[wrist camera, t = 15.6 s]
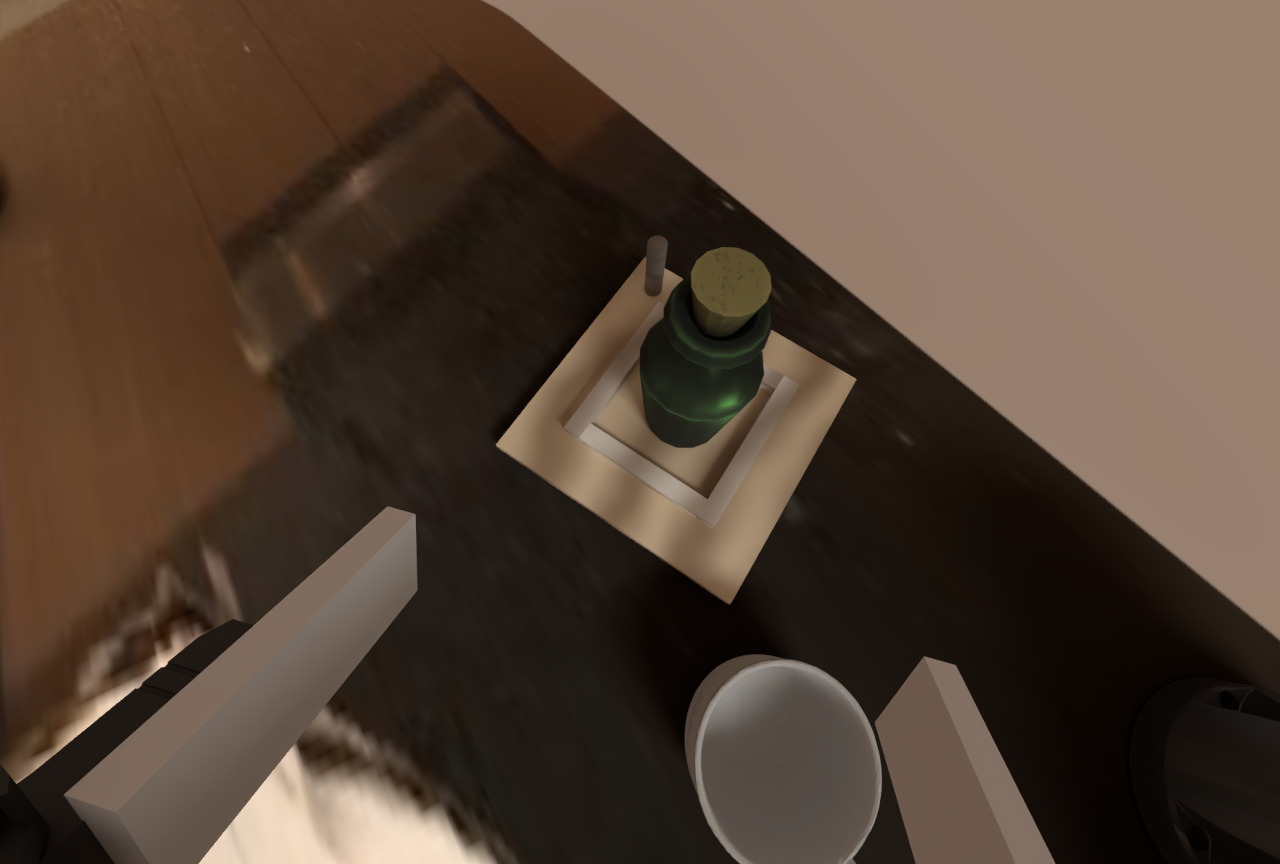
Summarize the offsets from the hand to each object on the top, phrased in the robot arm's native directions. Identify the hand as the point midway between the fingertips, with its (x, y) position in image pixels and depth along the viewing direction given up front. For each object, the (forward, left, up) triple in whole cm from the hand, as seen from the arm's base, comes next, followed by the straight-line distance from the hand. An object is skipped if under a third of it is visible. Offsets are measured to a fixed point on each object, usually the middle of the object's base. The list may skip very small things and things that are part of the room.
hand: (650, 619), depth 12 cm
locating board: (+4, -14, -25) cm, 29 cm away
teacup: (-14, +4, -25) cm, 29 cm away
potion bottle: (+4, -14, -24) cm, 28 cm away
